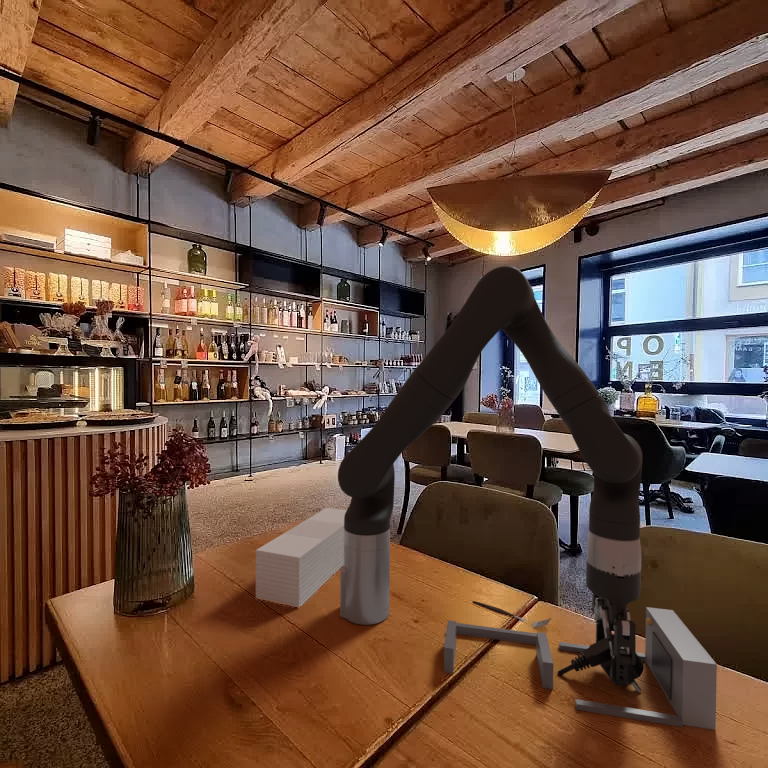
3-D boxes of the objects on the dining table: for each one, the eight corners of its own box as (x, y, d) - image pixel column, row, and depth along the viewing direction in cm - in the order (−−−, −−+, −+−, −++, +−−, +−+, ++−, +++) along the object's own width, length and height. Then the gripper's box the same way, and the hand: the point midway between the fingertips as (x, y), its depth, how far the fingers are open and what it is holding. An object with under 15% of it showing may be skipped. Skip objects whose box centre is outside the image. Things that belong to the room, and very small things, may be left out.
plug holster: (443, 672, 70) (443, 647, 70) (449, 629, 82) (449, 608, 82) (552, 689, 66) (553, 663, 66) (542, 642, 78) (542, 620, 78)
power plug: (552, 658, 72) (617, 624, 70) (580, 698, 72) (646, 665, 70) (559, 681, 67) (629, 645, 65) (588, 725, 66) (661, 690, 64)
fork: (475, 601, 93) (475, 591, 93) (551, 628, 83) (551, 618, 83) (469, 606, 91) (469, 596, 91) (547, 634, 81) (547, 624, 81)
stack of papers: (326, 545, 122) (326, 507, 122) (361, 551, 119) (361, 511, 119) (255, 600, 92) (255, 550, 92) (299, 609, 89) (299, 557, 88)
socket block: (576, 709, 62) (577, 647, 62) (558, 646, 77) (559, 595, 77) (717, 733, 58) (718, 666, 58) (670, 661, 73) (671, 608, 73)
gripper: (577, 542, 76) (575, 634, 76) (598, 579, 62) (596, 692, 62) (624, 546, 74) (622, 640, 74) (657, 585, 60) (654, 701, 60)
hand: (610, 664), depth 68 cm, fingers open, 8 cm apart
